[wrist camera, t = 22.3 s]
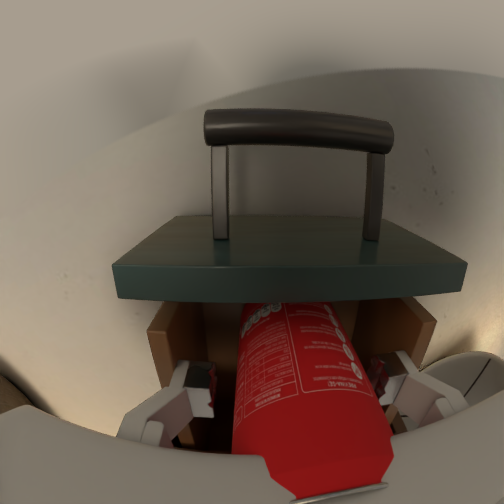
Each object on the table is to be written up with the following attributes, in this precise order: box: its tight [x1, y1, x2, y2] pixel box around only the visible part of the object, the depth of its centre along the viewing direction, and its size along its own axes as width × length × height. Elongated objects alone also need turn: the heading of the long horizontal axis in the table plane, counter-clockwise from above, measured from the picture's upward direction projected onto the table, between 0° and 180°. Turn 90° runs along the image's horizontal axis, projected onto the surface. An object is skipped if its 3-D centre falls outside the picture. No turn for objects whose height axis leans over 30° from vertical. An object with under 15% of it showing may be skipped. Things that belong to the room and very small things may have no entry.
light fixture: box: [398, 351, 504, 431], centre depth 16 cm, size 17×19×34 cm
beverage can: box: [231, 302, 394, 504], centre depth 10 cm, size 5×5×12 cm
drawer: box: [112, 108, 468, 452], centre depth 13 cm, size 19×12×8 cm, turn 0°
